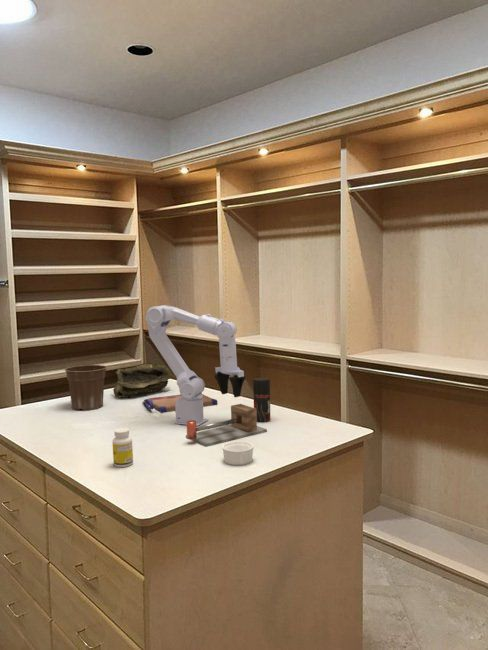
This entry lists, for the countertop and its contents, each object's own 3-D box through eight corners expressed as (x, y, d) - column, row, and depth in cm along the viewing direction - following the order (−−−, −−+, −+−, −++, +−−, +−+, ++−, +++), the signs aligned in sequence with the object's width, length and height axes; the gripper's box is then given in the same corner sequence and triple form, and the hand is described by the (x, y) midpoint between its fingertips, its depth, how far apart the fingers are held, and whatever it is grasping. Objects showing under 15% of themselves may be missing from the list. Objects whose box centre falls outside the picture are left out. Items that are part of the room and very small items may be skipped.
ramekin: (260, 461, 151) (259, 446, 150) (233, 468, 146) (232, 453, 145) (242, 453, 158) (242, 439, 158) (216, 459, 153) (216, 444, 153)
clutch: (218, 406, 217) (199, 396, 234) (218, 394, 217) (199, 386, 234) (152, 416, 204) (136, 405, 221) (152, 403, 204) (136, 393, 221)
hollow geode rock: (169, 398, 250) (158, 372, 258) (179, 382, 242) (168, 356, 250) (112, 406, 233) (102, 378, 241) (121, 390, 225) (111, 361, 233)
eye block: (205, 446, 165) (204, 421, 164) (185, 437, 174) (185, 413, 173) (266, 431, 179) (266, 408, 178) (245, 424, 188) (244, 401, 188)
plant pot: (95, 400, 229) (93, 362, 228) (116, 406, 218) (114, 367, 217) (59, 407, 218) (57, 368, 216) (79, 414, 207) (77, 372, 205)
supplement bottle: (115, 461, 153) (113, 427, 152) (134, 460, 154) (132, 426, 153) (112, 468, 148) (110, 433, 147) (132, 467, 148) (130, 432, 147)
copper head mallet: (190, 439, 166) (189, 423, 166) (185, 437, 169) (184, 421, 168) (237, 429, 177) (237, 413, 177) (232, 427, 179) (231, 411, 179)
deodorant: (269, 422, 189) (268, 380, 188) (252, 422, 191) (251, 380, 189) (271, 418, 195) (271, 377, 194) (255, 417, 196) (254, 377, 195)
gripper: (250, 356, 182) (252, 396, 184) (225, 353, 194) (228, 390, 195) (233, 359, 178) (235, 399, 179) (209, 356, 190) (212, 393, 191)
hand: (230, 395), depth 187 cm, fingers open, 7 cm apart
